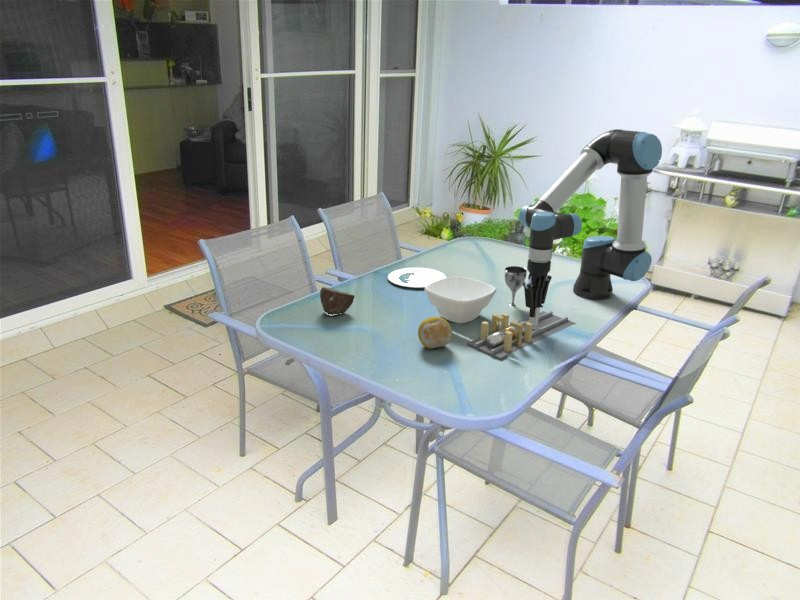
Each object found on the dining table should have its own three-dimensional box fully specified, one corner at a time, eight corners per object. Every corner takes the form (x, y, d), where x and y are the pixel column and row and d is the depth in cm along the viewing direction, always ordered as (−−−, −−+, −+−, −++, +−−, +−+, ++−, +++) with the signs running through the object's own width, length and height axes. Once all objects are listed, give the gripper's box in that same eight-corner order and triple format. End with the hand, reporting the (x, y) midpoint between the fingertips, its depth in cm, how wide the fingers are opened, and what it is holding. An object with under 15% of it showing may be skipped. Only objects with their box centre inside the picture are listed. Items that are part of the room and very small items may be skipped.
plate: (457, 277, 257) (457, 273, 257) (427, 295, 238) (428, 291, 237) (407, 267, 270) (407, 263, 269) (376, 283, 250) (376, 279, 249)
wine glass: (523, 311, 222) (526, 273, 216) (501, 310, 223) (504, 272, 218) (523, 304, 229) (526, 266, 224) (502, 302, 231) (505, 265, 225)
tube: (519, 330, 205) (521, 319, 203) (529, 334, 202) (530, 323, 201) (484, 345, 194) (485, 334, 192) (494, 349, 191) (495, 338, 190)
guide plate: (543, 313, 221) (544, 295, 219) (575, 325, 211) (578, 306, 209) (467, 344, 196) (468, 325, 193) (500, 360, 186) (502, 339, 184)
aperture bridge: (493, 333, 202) (495, 313, 199) (521, 345, 194) (523, 324, 191) (490, 335, 201) (492, 315, 198) (518, 347, 193) (520, 326, 190)
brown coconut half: (355, 296, 222) (354, 290, 212) (347, 322, 220) (346, 317, 210) (323, 287, 222) (320, 281, 212) (315, 313, 220) (312, 308, 210)
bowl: (455, 301, 231) (457, 273, 227) (502, 318, 216) (504, 288, 212) (415, 317, 217) (416, 287, 212) (462, 336, 202) (464, 304, 198)
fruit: (412, 343, 197) (413, 315, 193) (441, 338, 201) (443, 310, 197) (426, 356, 188) (426, 327, 184) (456, 350, 192) (457, 322, 188)
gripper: (542, 252, 203) (535, 316, 212) (517, 260, 195) (512, 326, 204) (560, 258, 198) (553, 322, 207) (536, 266, 190) (530, 333, 199)
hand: (533, 324), depth 206 cm, fingers closed
